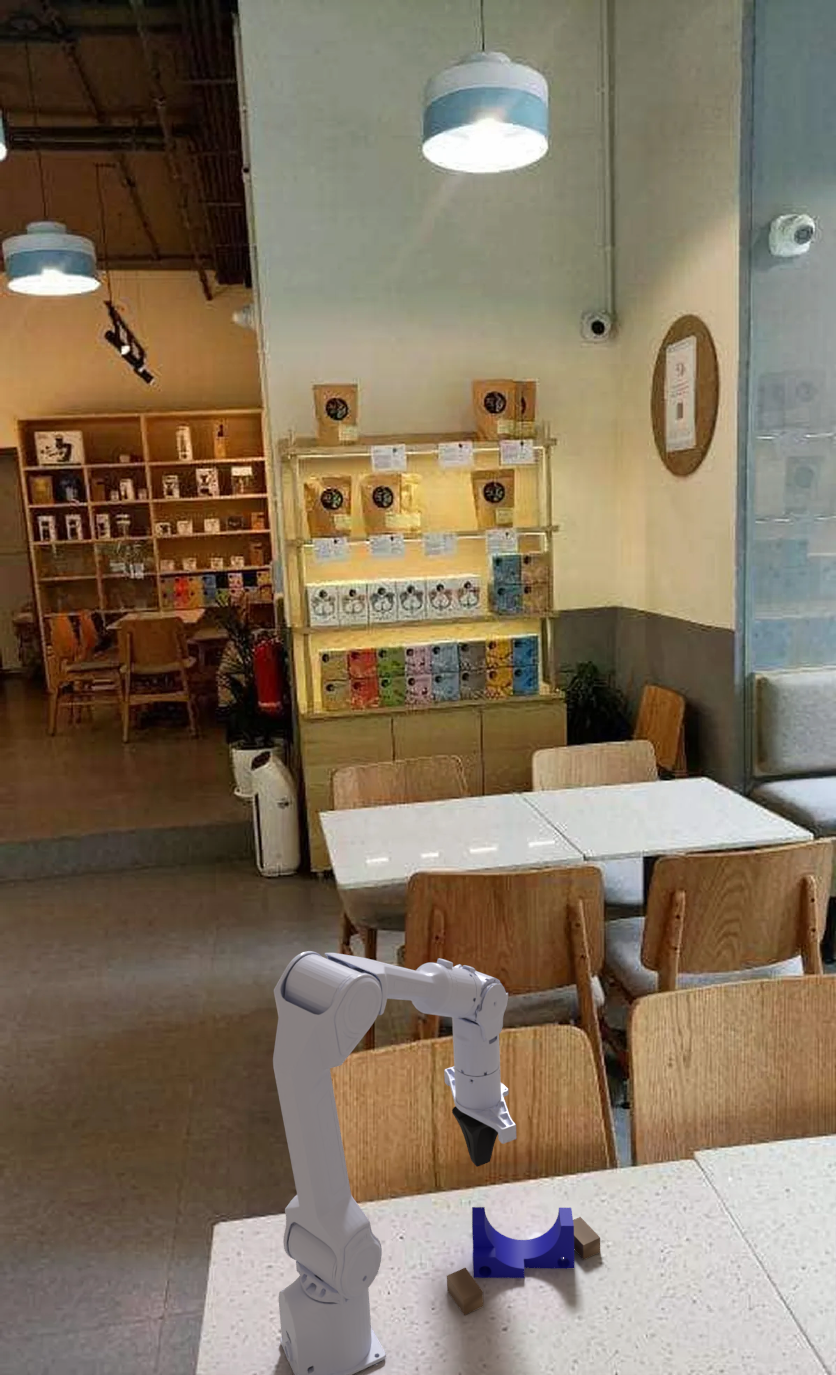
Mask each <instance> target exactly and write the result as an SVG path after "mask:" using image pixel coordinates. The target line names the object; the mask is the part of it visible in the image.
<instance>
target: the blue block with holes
mask: <svg viewBox="0 0 836 1375" xmlns="http://www.w3.org/2000/svg"><path fill="white" fill-rule="evenodd" d="M572 1209H573V1208H572V1207H558V1212H557V1213H558V1214H557V1217H556V1218H555V1219H556V1220H555V1221H554V1224H553V1225H552V1226H551V1227H550V1228H549V1230H547V1231H546V1232H545V1233H544V1234H541V1235H540V1236H537V1237H534V1238H530V1239H516V1238H511V1237H508V1236H506V1235H504V1234H502V1233H501V1232H499V1231H498V1230H496V1229H495V1228H494V1226H492V1224H491V1222H490V1221H489V1219H488V1217H487V1215H486V1209H485V1207H484V1206H477V1207H476V1206H472V1208H471V1228H472V1229H471V1231H472V1232H471V1234H472V1235H471V1236H472V1264H473V1265H472V1268H473V1269H472V1270H473V1279H477V1278H478V1279H525V1269H542V1270H543V1269H548V1270H550V1269H556V1270H557V1269H558V1270H559V1269H560V1270H562V1269H563V1270H564V1269H566V1270H567V1268H575V1250H574V1224H573V1220H574V1218H573V1217H574V1216H573V1210H572ZM563 1257H564V1259H563Z"/></svg>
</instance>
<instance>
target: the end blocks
mask: <svg viewBox="0 0 836 1375" xmlns="http://www.w3.org/2000/svg"><path fill="white" fill-rule="evenodd" d="M573 1224H574V1249H575V1250H574V1252H576V1253H577V1255H579V1257H580V1258H581V1259H582V1260H583V1261H584V1260H586V1259H588V1258H591V1257H593V1256H595V1255H597V1254H599V1253H601V1237H600V1236H599V1234H598V1233H596V1231H595V1230H593V1228H592V1227H591V1226H590V1225H589V1224H588V1223H587V1222H586V1221H585V1219H583V1218H582V1217H581V1216H579V1217H577V1218H575V1219H574V1218H573ZM446 1291H447V1292H448V1294H449V1295H450V1297H451V1298H452V1300H453V1301H454V1303H455V1304H456V1306H457V1307H458V1309H460V1311H461V1313H462V1314H463V1316H466V1315H468V1314H471V1313H473V1312H475V1311H477V1310H479V1309H482V1308H483V1307H484V1294H483V1293H484V1291H483V1290H482V1288H481V1287H480V1285H479V1284H478V1283H477V1281H476V1280H475V1278H474V1276H472V1274H471V1273H470V1272H469V1270H468V1268H466V1267H463V1268H461V1269H459V1270H457V1271H454V1272H453V1273H452V1272H451V1273H449V1274H447V1275H446Z"/></svg>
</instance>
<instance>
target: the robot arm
mask: <svg viewBox="0 0 836 1375" xmlns="http://www.w3.org/2000/svg"><path fill="white" fill-rule="evenodd" d="M324 956H326V957H323V956H322V955H321V954H320V953H318V952H316V951H313V950H312V951H311V950H308V951H307V950H306V951H302V952H301V953H299V954H297V955H296V956H294V957H293V958H292V959H291V960H290V962H289V963H288V964H287V966H286V967H285V969H284V970H283V972H282V974H281V976H280V978H279V980H278V981H277V983H276V985H275V987H274V988H273V995H274V1000H275V1004H276V1010H277V1011H276V1012H277V1017H278V1018H277V1026H276V1033H275V1042H274V1046H273V1047H274V1050H273V1055H272V1056H273V1057H272V1066H273V1067H272V1068H273V1071H274V1077H275V1083H276V1088H277V1094H278V1100H279V1104H280V1110H281V1116H282V1120H283V1126H284V1131H285V1137H286V1142H287V1147H288V1148H287V1149H288V1152H289V1158H290V1163H291V1169H292V1173H293V1174H292V1175H293V1179H294V1185H295V1190H296V1195H295V1196H294V1197H292V1199H291V1200H290V1201H289V1203H288V1205H287V1206H286V1207H285V1208H284V1212H285V1214H284V1215H285V1220H286V1221H285V1228H284V1235H283V1242H282V1243H283V1249H284V1251H285V1254H286V1255H287V1256H288V1257H289V1258H290V1259H293V1260H295V1268H296V1272H297V1273H298V1275H299V1276H298V1277H297V1278H296V1279H295V1280H294V1281H292V1283H290V1284H289V1285H288V1286H286V1287H285V1288H283V1289H281V1290H280V1291H279V1293H278V1308H279V1309H278V1310H279V1319H280V1320H279V1323H280V1334H281V1336H280V1337H279V1338H280V1339H279V1342H280V1344H281V1347H282V1349H283V1351H284V1355H285V1357H286V1361H288V1364H289V1366H290V1368H291V1370H292V1373H293V1375H354V1374H357V1373H358V1372H360V1371H363V1370H365V1369H368V1367H371V1366H373V1365H375V1364H377V1363H379V1362H381V1361H382V1362H383V1361H384V1360H386V1359H387V1358H386V1357H387V1352H386V1351H385V1348H384V1347H383V1345H382V1343H381V1341H380V1339H379V1337H378V1336H377V1334H376V1332H375V1331H374V1328H373V1327H372V1323H371V1322H372V1321H371V1307H370V1305H371V1304H370V1290H369V1287H371V1285H372V1284H373V1282H374V1281H375V1278H376V1277H377V1275H378V1273H379V1270H380V1267H381V1263H382V1255H383V1252H382V1251H383V1250H382V1243H381V1241H380V1240H379V1238H378V1237H377V1236H376V1235H375V1234H374V1233H373V1230H372V1225H371V1222H370V1219H369V1218H368V1216H367V1215H366V1213H365V1212H364V1211H363V1209H362V1208H361V1207H360V1205H359V1204H358V1203H357V1201H356V1200H355V1198H354V1197H353V1195H352V1191H351V1186H350V1181H349V1173H348V1169H347V1167H348V1166H347V1161H346V1156H345V1150H344V1144H343V1139H342V1133H341V1127H340V1121H339V1116H338V1109H337V1104H336V1097H335V1092H334V1085H333V1081H332V1080H333V1079H332V1074H331V1069H333V1068H336V1067H340V1066H342V1065H343V1064H344V1062H345V1061H346V1060H347V1058H349V1056H350V1055H351V1054H352V1052H353V1051H354V1050H355V1048H356V1047H357V1045H358V1044H360V1042H361V1040H362V1039H363V1038H364V1036H365V1035H366V1034H367V1032H368V1031H369V1030H370V1028H371V1027H372V1026H373V1024H374V1023H375V1021H376V1019H377V1017H378V1016H382V1015H383V1014H384V1013H385V1009H386V1005H387V1001H388V999H389V1000H401V1001H402V1000H403V1001H411V1003H412V1005H413V1006H414V1007H415V1009H416V1010H418V1012H420V1013H422V1014H425V1015H433V1016H439V1017H447V1018H451V1020H452V1021H451V1022H452V1040H453V1041H452V1045H453V1048H452V1049H453V1064H454V1065H453V1066H451V1067H448V1068H445V1069H444V1071H443V1072H444V1074H443V1075H444V1084H446V1086H448V1087H450V1091H451V1095H452V1098H453V1102H454V1105H455V1106H454V1107H453V1108H452V1110H451V1111H452V1112H451V1113H452V1115H453V1116H454V1118H455V1119H456V1121H457V1123H458V1125H459V1127H460V1129H461V1131H462V1134H463V1137H464V1141H465V1144H466V1147H467V1152H468V1155H469V1158H470V1160H471V1162H472V1163H473V1164H474V1165H475V1167H481V1166H484V1165H485V1164H488V1163H491V1159H492V1155H493V1151H494V1146H495V1143H496V1140H497V1139H498V1141H499V1142H500V1143H501V1144H503V1145H504V1144H506V1143H507V1144H508V1143H510V1142H512V1141H515V1140H517V1124H516V1123H515V1122H514V1121H513V1118H512V1117H511V1114H510V1112H509V1109H508V1106H507V1103H506V1099H505V1097H506V1096H509V1088H508V1087H507V1086H506V1085H505V1084H504V1083H503V1082H501V1080H502V1079H501V1056H500V1055H501V1054H500V1052H501V1051H500V1050H501V1049H500V1034H501V1033H502V1028H503V1027H504V1014H505V1011H506V1009H507V1006H508V1002H509V1000H508V999H509V992H506V989H505V988H506V987H505V986H503V983H501V981H500V979H498V978H496V977H493V976H491V975H488V974H486V973H482V972H480V971H477V970H476V968H474V967H473V966H470V965H466V964H464V965H462V964H460V963H459V964H456V965H455V966H454V963H453V962H452V961H449V960H447V959H444V958H437V961H436V962H426V963H423V964H421V965H420V966H419V967H417V969H415V970H414V969H410V968H407V967H403V966H399V965H395V964H391V963H386V962H383V961H379V960H375V959H370V958H367V957H363V956H356V955H350V954H349V955H348V954H345V953H344V954H343V953H338V952H324ZM497 1137H498V1138H497Z"/></svg>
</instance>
